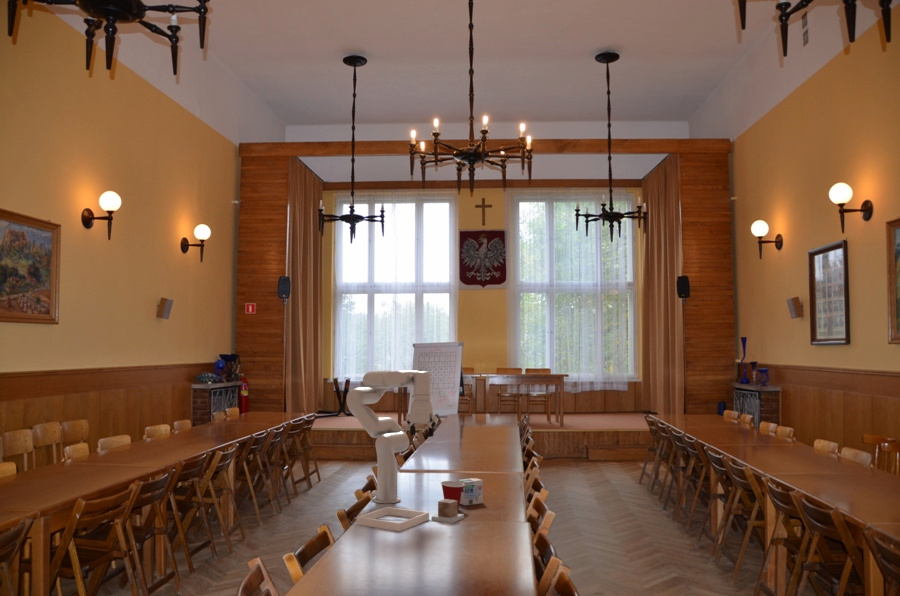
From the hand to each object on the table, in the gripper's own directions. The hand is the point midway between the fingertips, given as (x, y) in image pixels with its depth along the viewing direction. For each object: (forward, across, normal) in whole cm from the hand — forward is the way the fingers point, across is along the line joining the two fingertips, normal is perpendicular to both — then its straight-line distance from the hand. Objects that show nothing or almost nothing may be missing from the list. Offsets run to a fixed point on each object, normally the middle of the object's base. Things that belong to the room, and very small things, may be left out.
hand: (421, 435), depth 322 cm
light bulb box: (+33, +14, +20) cm, 41 cm away
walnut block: (+31, +21, -12) cm, 39 cm away
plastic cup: (+32, +14, +4) cm, 36 cm away
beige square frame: (+32, +4, -28) cm, 43 cm away
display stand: (+32, +21, -12) cm, 40 cm away
